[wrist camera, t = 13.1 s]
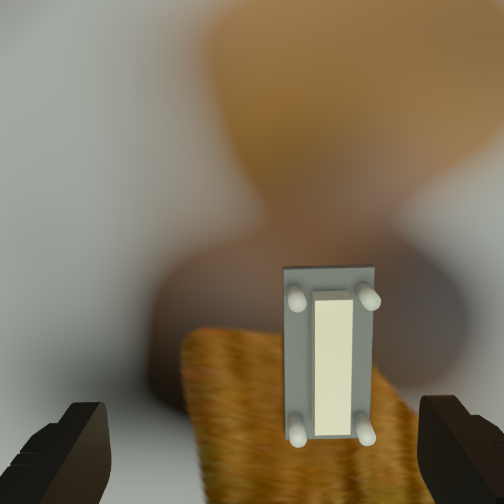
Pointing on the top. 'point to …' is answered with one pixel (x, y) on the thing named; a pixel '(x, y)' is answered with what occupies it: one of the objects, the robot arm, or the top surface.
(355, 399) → the grey pegged tray
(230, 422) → the top surface
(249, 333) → the top surface
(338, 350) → the clay strip
